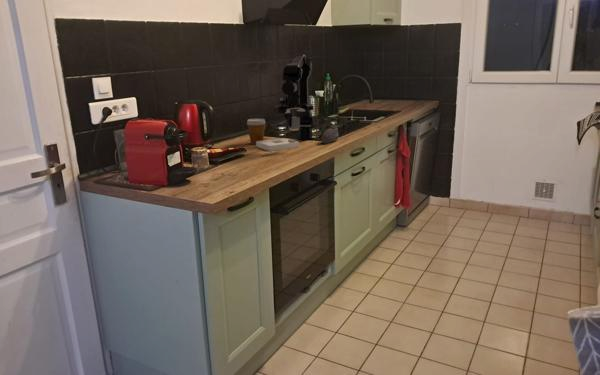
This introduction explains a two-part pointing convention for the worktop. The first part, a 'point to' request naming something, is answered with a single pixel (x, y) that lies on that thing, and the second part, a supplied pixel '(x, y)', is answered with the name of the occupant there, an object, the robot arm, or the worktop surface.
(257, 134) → the disposable coffee cup
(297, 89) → the robot arm
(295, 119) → the grey cylinder
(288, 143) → the socket plate
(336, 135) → the perforated stone tool
